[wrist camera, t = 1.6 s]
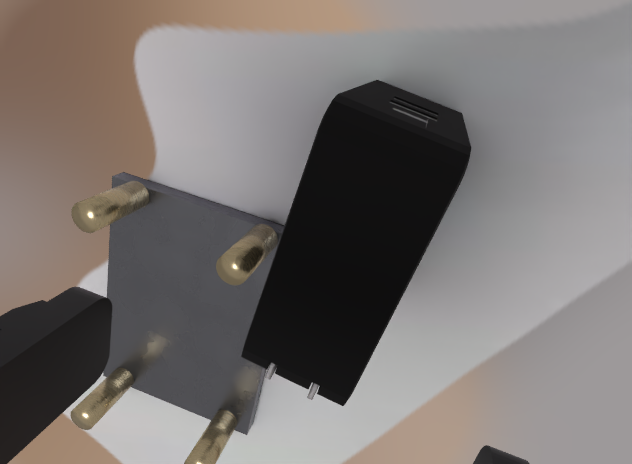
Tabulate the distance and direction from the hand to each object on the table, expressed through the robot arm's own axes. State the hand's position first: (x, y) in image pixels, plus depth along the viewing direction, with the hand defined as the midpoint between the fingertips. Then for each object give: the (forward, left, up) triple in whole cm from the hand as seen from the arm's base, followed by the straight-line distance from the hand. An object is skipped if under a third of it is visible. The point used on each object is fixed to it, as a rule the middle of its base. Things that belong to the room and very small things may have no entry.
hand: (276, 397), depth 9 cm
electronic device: (0, 0, -15) cm, 15 cm away
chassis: (+11, -9, -15) cm, 21 cm away
